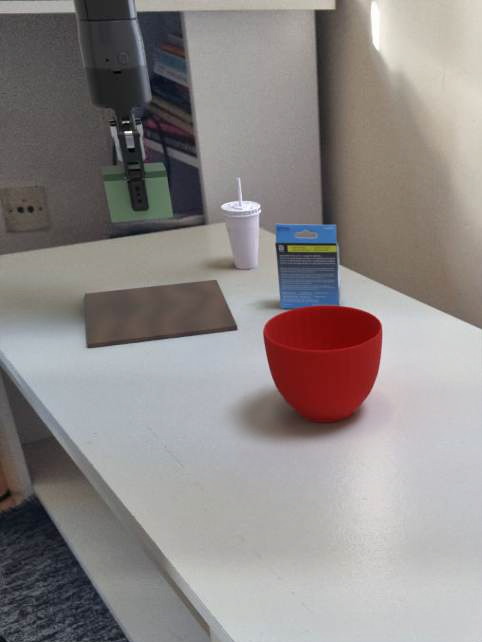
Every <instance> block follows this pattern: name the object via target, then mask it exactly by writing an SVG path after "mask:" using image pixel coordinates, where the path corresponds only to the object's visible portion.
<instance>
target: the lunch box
mask: <svg viewBox="0 0 482 642" xmlns="http://www.w3.org/2000/svg"><path fill="white" fill-rule="evenodd" d="M100 167H101V175H102V179H103V185H104V190H105V194H106V200H107V205H108V210H109V215H110V221H111V223H112V224H113V223H124V222H135V221H137V222H138V221H146V220H158V219H170V218H171V219H172V218H174V215H173V207H172V199H171V193H170V188H169V187H170V186H169V181H168V174H167V170H166V167H165V164H164V163H163V162H149V163H148V162H147V163H146V162H145V163H144V170H145V171H146V178H145V179H146V180H145V185H146V191H147V197H148V203H149V209H148V210H147V211H137V212H136V211H133V209H132V206H131V201H130V195H129V189H128V184H127V182H126V179H125V178H124V173H125V172H124V166H123V165H121V164H119V165H118V164H117V165H105V166H100ZM136 168H140V167H139V164H132V165H128V170H129V169H136Z"/></svg>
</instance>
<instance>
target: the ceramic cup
mask: <svg viewBox="0 0 482 642" xmlns="http://www.w3.org/2000/svg"><path fill="white" fill-rule="evenodd" d="M262 337H263V344H264V350H265V355H266V360H267V364H268V369H269V372H270V376H271V378H272V382H273V383H274V386H275V388H276V389H277V391H278V393H279V394H280V396H282V398H283V399H284V401H285V402H286V403H287V404H288V405H289V407H291V408H292V409H293V410H294V411H296V412H297V413H298V414H299V415H300V416H301V417H302V418H304V419H305V420H308V421H311V422H315V423H335V422H340V421H344V420H346V419H348V418H350V417H351V416H353V414H354V413H355V412H356V410H357V409H359V408H360V406H361V405H362V404H363V403H364V402H365V401H366V399H367V398H368V397H369V396H370V393H371V392H372V390H373V388H374V385H375V382H376V380H377V378H378V375H379V371H380V366H381V359H382V349H383V324H382V323H381V321H380V319H379V318H378V317H377V316H376V315H374V314H372V313H370V312H369V311H366V310H363V309H359V308H355V307H351V306H345V305H340V306H333V305H321V306H308V307H302V308H297V309H288V310H286V311H284V312H280V313H279V314H276V315H274V316H272V317H271V318H270V319H269V320H267V322H266V323H265V324H264V325H263V329H262Z"/></svg>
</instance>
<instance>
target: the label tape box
mask: <svg viewBox="0 0 482 642" xmlns="http://www.w3.org/2000/svg"><path fill="white" fill-rule="evenodd" d="M274 231H275V232H274V233H275V243H274V244H275V254H276V265H277V266H276V267H277V278H278V279H277V280H278V291H279V303H280V308H281V309H284V310H285V309H287V310H293V309H297V308H302V307H308V306H321V305H333V306H341V300H342V299H341V297H342V296H341V295H342V289H341V263H340V262H341V261H340V247H339V243H338V242H337V224H310V223H309V224H307V223H306V224H303V223H274ZM304 232H307V233H308V234H314V235H315V237H301V236H300V237H298V236H296V234H303V233H304Z"/></svg>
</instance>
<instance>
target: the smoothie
mask: <svg viewBox="0 0 482 642" xmlns="http://www.w3.org/2000/svg"><path fill="white" fill-rule="evenodd" d="M235 180H236V187H237V189H236V190H237V198H238V200H235V201H229V202H226V203H224V204H222V205H221V206H220V211H221V212H220V214H221V215H222V216H223V218H224V223H225V227H226V232H227V237H228V239H229V244H230V248H231V252H232V253H231V254H232V257H233V261H234V265H235V268H236V269H239V270H252V269H255V268H257V267H258V266H259V237H260V236H259V235H260V234H259V232H260V214H261V213H262V209H261V204H260V203H259V202H256V201H252V200H243V195H242V185H241V178H240V177H236V179H235Z"/></svg>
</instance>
